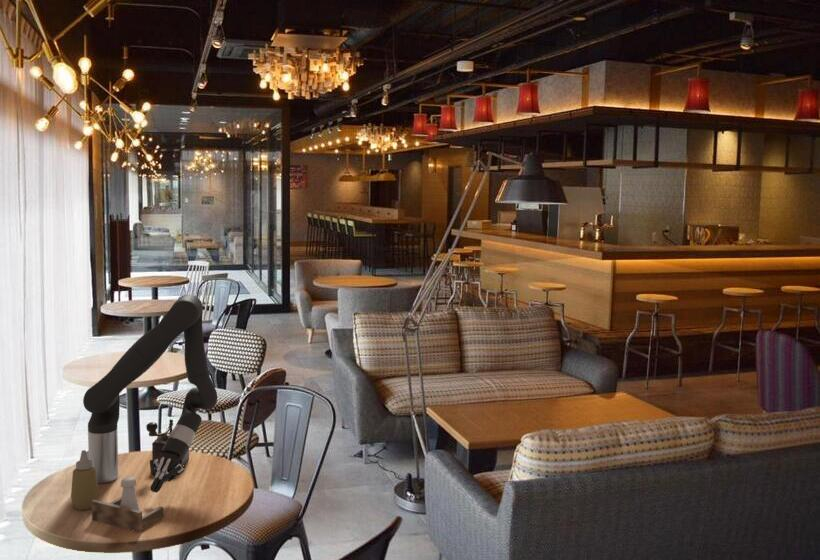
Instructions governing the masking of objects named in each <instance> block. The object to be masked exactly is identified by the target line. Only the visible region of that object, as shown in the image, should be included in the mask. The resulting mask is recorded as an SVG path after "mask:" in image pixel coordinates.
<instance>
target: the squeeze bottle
mask: <svg viewBox="0 0 820 560" xmlns="http://www.w3.org/2000/svg"><path fill="white" fill-rule="evenodd" d="M86 452H87V451H86V450H85V449H83V450H81V453H80V457H79V460H78V461H76V462H75V468H74V469H73V470H72V478H71V480H72V481H71V489H70V490H71V491H70V499H71V501H72V504H73V506H74V508H75V509H76V510H80V511H84V510H89V509H92V501H93V500H98V499H99V494H100V493H99V486H98V484H99V483H97V477H96V470H95V468H94V467H92V461H91V460H88V457H87V453H86Z"/></svg>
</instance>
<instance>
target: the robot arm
mask: <svg viewBox="0 0 820 560" xmlns="http://www.w3.org/2000/svg"><path fill="white" fill-rule="evenodd" d="M203 308H204V307H203V302H202V300H201V299H200V298H199V297H198V296H196V295H195V294H193V293H192V294H191V293H185V294H183V295H181V296H180V297H178V299H176V301H174V303H173V304H172V305H171V307H170V309H169V310H168V311H167V313H166V314H165V315H164V316H163V317H162V318H161V320H160V321H159V322H158V324H156V325H155V326H154V327H152V328H151V329H150V330H148V331H147V332H146V333H144V334H143V335H142V336H141V337H139V338H138V339H137V340H136V341H135V342H134V343H133V344H132V345H131V346H130V347H129V348H128V349H127V350H126V352H125V353H123V355H122V356H121V357H120V359H118V361H116V363H115V364H114V366H113V367H112V368H111V369H110V370H109V372H108V373H106V375H104V376H103V377H102V378H101V379H100V380H99V381H98V382H96V383H95V384H94V385H92V386H91V387H89V388H88V389H87V390H86V391H85V393H84V395H83V400H82V401H83V402H82V404H83V407H84V409H85V410H86V411H87V412H89V413H91V416H90V418H89V421H88V422H87V441H88V442H87V445H88V446H87V447H88V450H87V451H86V453H87V457H88V460H91V461H92V467H94V468H95V470H96V477H97V484H105V483H109V482H113V481H115V480H117V479H118V478H119V447H118V445H119V444H118V443H119V441H118V440H119V439H118V435H119V434H118V422H119V419H120V403H121V401H120V394H121V393H122V392H123V390H124V389H125V388H127V387H128V386H129V385H130V384H131V383H133V382H134V381H136V380H138V378H140V377H141V376H142V375H143V374H145V373H146V372H147V371H148V370H149V369H151V367H152V366H153V365H154V364H155V363H156V362H157V361H158V360H160V358H161V357H162V356H163V355H164V353H165V352H166V351H167V349H168V348H169V347H170V345H172V343H173V341H175V340H176V339H177V338H178V337H179V336H180V335H181V334H183V338H184V340H183V341H184V366H185V371H186V376H187V377H186V378H187V381H188V382H189V383H190V384H192V385H194V386H195V387H193V388H191V389H190V390H189V391H187V393H186V394H185V397H184V401H183V405H182V406H183V407H182V411H181V415H180V417H179V418H178V420H177V422H176V424H175V426H174V427H173V428H172V432H171V434H170V436H169V438H168V439H167V441H166V443H165V445H164V447H163V449H162V454H161V455H160V456H159V457H158V459H156V460H152V459H150V460H149V467H150V475H151V476H152V477H153V478H154V480H153V481H152V483H151V485H150V491H151V492H152V493H156V494H158V493H159V491H160V490H161V489H162V487H163V485H164V483H167V482H171V481H173V480H174V479H176V478H177V477H178V476H180V475H181V474H182V473H184V472H185V468H184V467H182V466H181V463H182V459H184V457H185V455H186V453H187V451H188V449H189V450H190V447H191V446H192V443H193V442H194V438H195V436H196V434H197V431H198V430H199V428H200V426H201V424H202V421H203V419H202V417H201V415H200V414H198V413H197V410H207V411H208V410H209V411H210V410H212V409H214V408H215V406H217V403H218V393H217V389H216V387H215V384H214V383H213V380H212V378H211V377H210V373H209V366H208V359H207V355H206V349H205V342H204V333H203V331H204V330H203ZM157 467H158V468H157Z"/></svg>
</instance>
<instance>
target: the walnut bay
mask: <svg viewBox="0 0 820 560" xmlns="http://www.w3.org/2000/svg"><path fill="white" fill-rule="evenodd" d="M121 498H122V496H120V497H118V498H116V499H115V500H113V501H111V502H105V501H102V500H98V499H97V500H93V501H92V508H91V521H93V522H94V521H95V522H97V523H100V524H101V523H102V524H107V525H109V526H114V527H116V526H117V527H118V528H121V529H124V530H128V529H129V530H128V531H132V530H134V531H133V532H135V531H137V532H136V533H139V532H140V533H141V532H143V529H145V528H146V526H147V527H149V526H150V525H151V524H154V523H155V522H157V521H158V520H160V519H162V518H163V517H164V506H162V505H161V506H158V507H157V508H155V509H153V510H152V511H150V512H148V513H146V514H144V515H143V511H141V510H140V509H139V510H135V509H131V508H127V507H123V506H120V504H121Z"/></svg>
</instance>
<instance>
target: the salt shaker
mask: <svg viewBox="0 0 820 560" xmlns="http://www.w3.org/2000/svg"><path fill="white" fill-rule="evenodd" d="M136 486H137V478H135V477H134V476H126V477H124V478H122V479H121V481H120V487H121V488H122V494H121V497H122V498H121V504H120V506H123V507H127V508H131V509H135V510H139V511H140V507H139V503H138V502H139V501H138V498H137V497H138V496H137V493H136Z"/></svg>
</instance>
